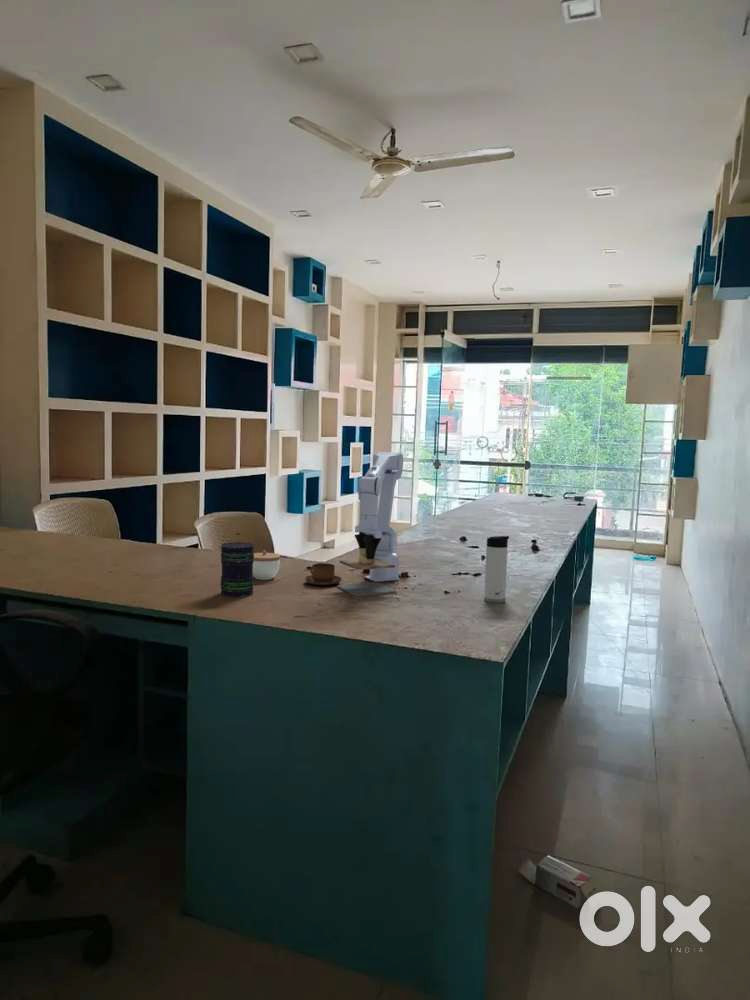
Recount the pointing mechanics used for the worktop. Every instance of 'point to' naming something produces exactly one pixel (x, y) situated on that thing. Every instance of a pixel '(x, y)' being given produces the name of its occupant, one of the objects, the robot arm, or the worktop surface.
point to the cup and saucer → (323, 575)
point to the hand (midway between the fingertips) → (367, 557)
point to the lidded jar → (265, 565)
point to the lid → (366, 562)
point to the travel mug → (496, 569)
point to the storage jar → (237, 569)
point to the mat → (366, 589)
